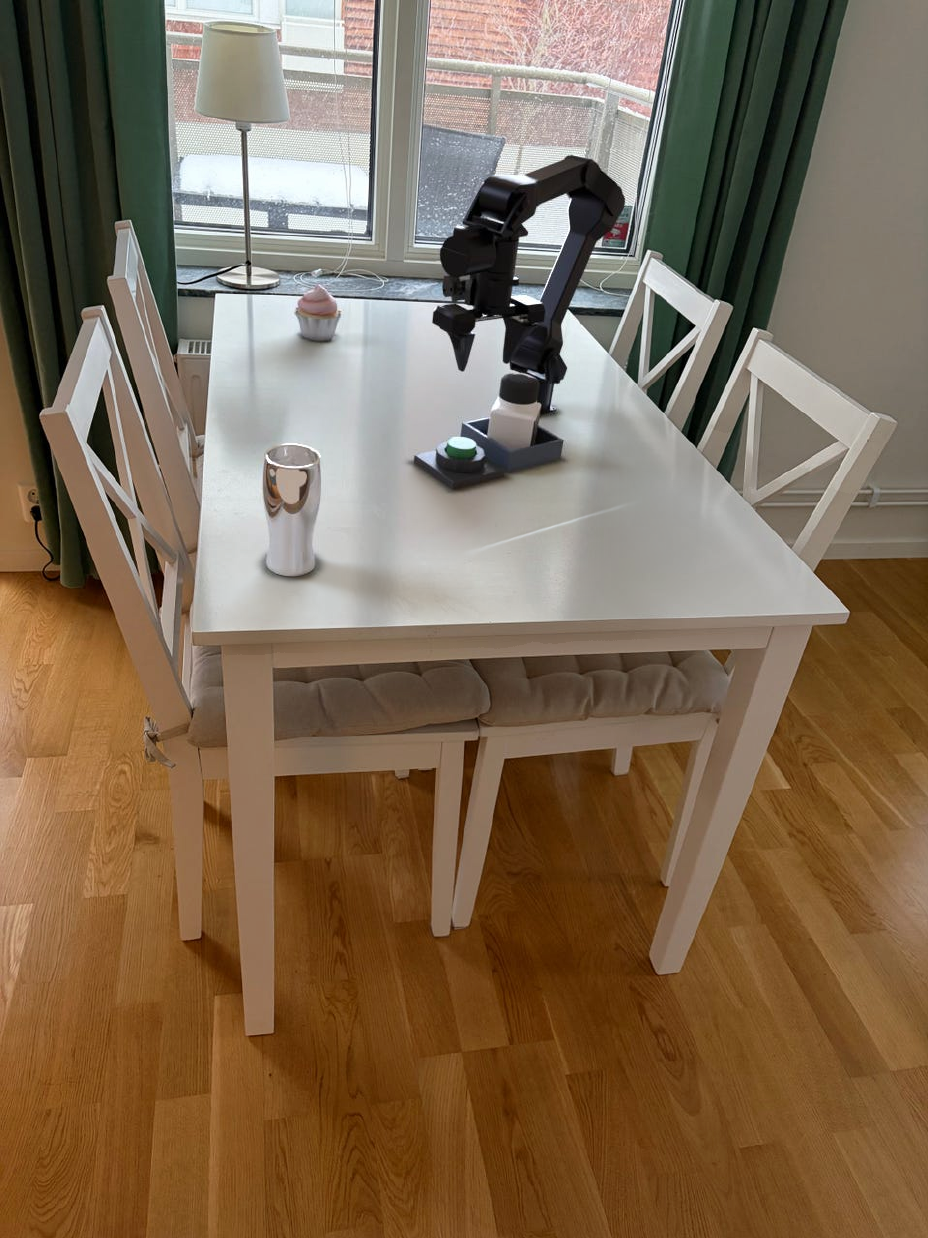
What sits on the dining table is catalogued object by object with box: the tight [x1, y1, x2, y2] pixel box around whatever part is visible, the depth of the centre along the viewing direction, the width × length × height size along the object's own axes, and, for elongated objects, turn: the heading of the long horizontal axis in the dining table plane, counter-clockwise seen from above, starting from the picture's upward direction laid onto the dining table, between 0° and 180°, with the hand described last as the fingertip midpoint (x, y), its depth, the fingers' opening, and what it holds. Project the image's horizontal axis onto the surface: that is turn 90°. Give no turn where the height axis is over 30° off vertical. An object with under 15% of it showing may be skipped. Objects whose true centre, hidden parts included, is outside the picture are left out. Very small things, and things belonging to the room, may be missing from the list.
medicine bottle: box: [487, 372, 541, 451], centre depth 157 cm, size 7×7×12 cm
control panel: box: [413, 441, 506, 491], centre depth 152 cm, size 10×10×3 cm
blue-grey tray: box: [460, 416, 565, 474], centre depth 160 cm, size 11×12×3 cm
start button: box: [446, 436, 476, 459], centre depth 151 cm, size 4×4×2 cm
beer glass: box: [261, 443, 322, 577], centre depth 121 cm, size 7×7×15 cm
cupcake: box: [293, 283, 342, 342], centre depth 192 cm, size 9×9×10 cm
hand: (483, 366), depth 160 cm, fingers open, 9 cm apart
